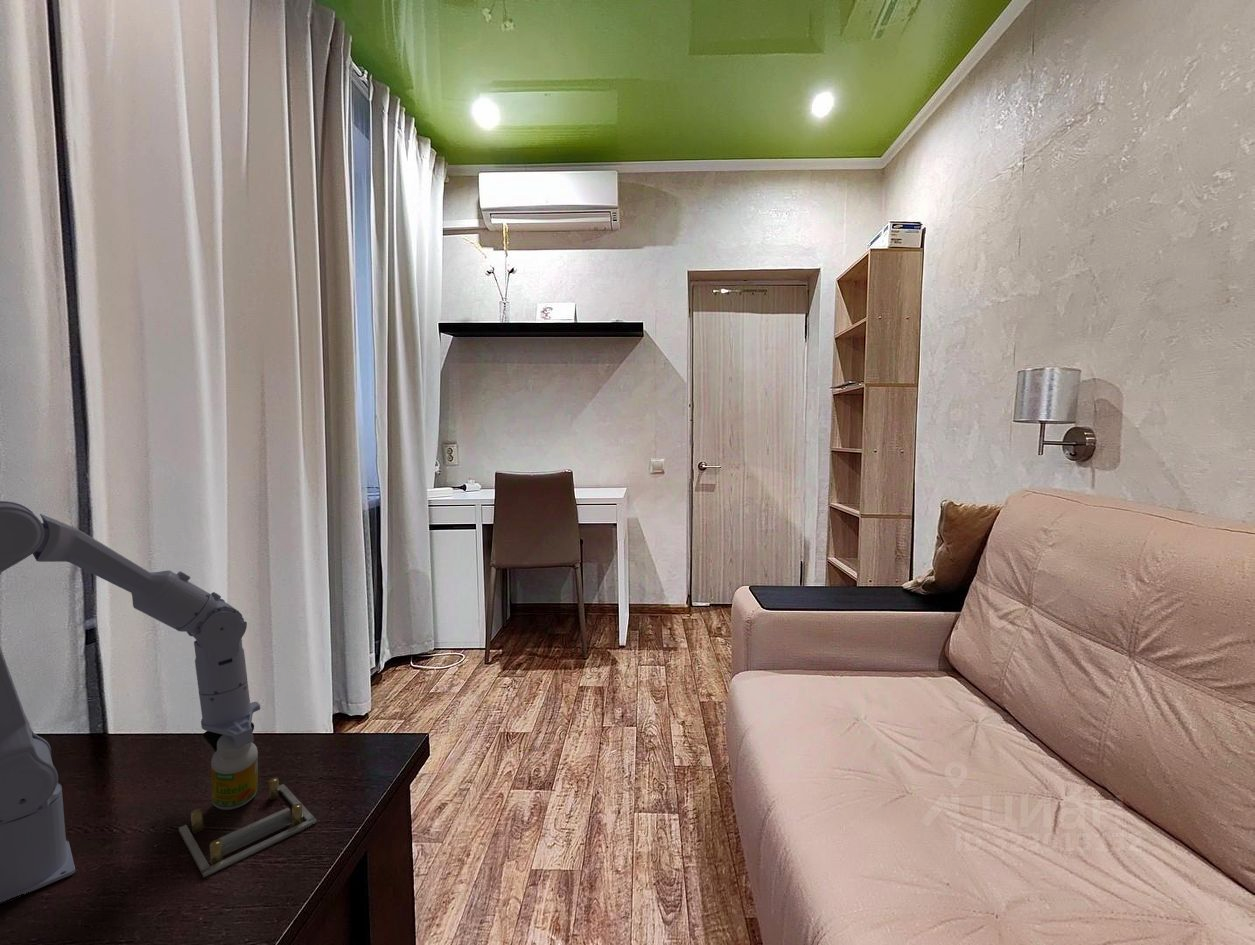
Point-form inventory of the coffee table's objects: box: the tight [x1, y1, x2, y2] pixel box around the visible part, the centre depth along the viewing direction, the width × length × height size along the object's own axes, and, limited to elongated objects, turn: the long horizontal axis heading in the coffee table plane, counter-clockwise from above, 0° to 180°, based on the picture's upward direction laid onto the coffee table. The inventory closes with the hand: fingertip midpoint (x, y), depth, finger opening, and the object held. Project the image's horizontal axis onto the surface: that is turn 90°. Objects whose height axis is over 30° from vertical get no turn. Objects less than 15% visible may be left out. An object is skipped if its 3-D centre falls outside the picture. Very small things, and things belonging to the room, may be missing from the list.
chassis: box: [178, 777, 317, 878], centre depth 76 cm, size 12×12×2 cm
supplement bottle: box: [210, 735, 259, 811], centre depth 81 cm, size 5×5×10 cm
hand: (234, 774), depth 84 cm, fingers closed, pressing on supplement bottle
